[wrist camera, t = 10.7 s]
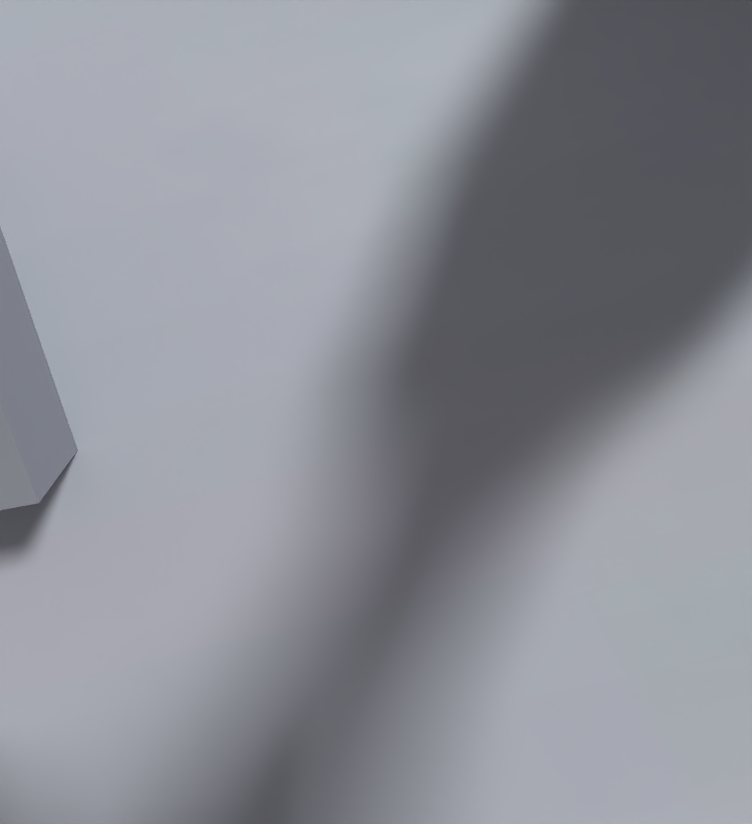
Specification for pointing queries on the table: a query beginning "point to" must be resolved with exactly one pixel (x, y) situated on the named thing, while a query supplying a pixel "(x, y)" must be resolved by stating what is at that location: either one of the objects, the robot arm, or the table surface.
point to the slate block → (26, 402)
